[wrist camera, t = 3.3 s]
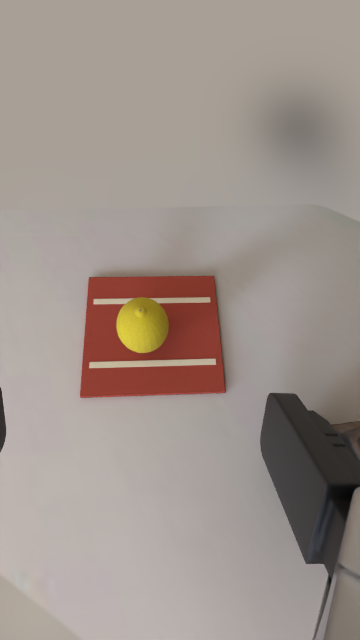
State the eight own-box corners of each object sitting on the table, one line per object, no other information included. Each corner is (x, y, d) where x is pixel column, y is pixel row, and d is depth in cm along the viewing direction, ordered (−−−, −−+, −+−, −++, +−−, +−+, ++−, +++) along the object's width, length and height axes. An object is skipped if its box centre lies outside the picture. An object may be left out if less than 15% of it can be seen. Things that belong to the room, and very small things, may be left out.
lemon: (126, 314, 40) (118, 280, 33) (171, 321, 40) (173, 289, 33) (116, 357, 38) (105, 332, 31) (164, 365, 38) (164, 341, 30)
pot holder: (213, 278, 43) (214, 275, 43) (224, 392, 38) (225, 391, 37) (89, 279, 42) (88, 276, 42) (81, 397, 36) (79, 396, 36)
